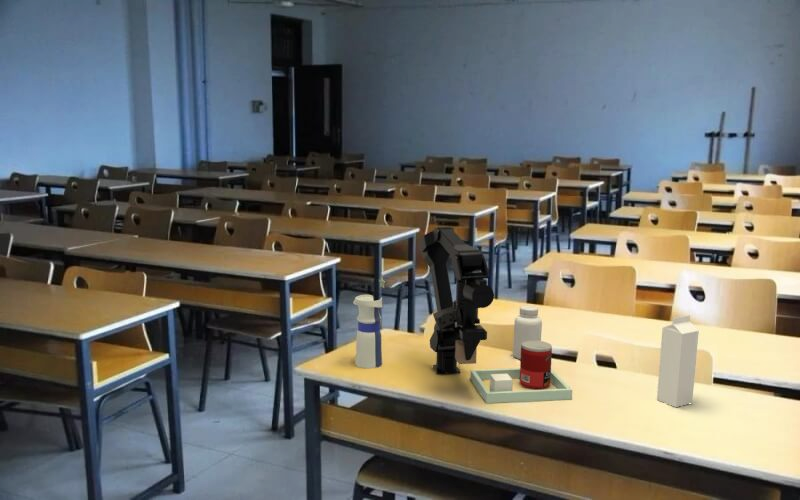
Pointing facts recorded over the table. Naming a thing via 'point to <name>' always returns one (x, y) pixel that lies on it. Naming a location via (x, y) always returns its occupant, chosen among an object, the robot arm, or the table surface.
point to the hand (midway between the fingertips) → (465, 356)
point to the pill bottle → (526, 328)
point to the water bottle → (369, 331)
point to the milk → (677, 362)
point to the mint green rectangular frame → (519, 396)
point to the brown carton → (463, 354)
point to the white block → (500, 382)
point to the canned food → (535, 364)
